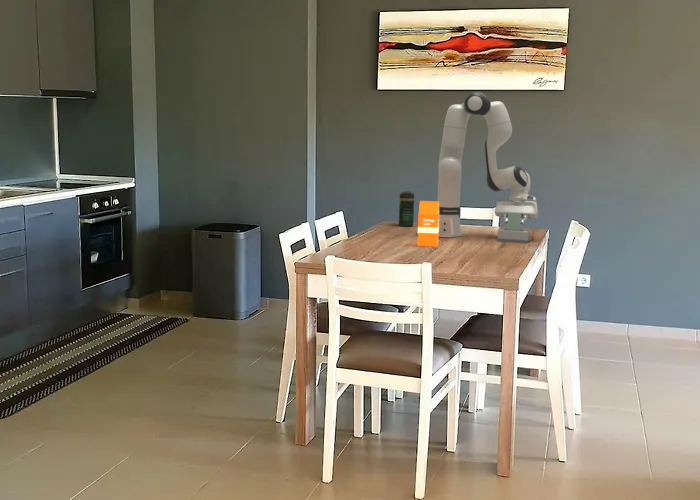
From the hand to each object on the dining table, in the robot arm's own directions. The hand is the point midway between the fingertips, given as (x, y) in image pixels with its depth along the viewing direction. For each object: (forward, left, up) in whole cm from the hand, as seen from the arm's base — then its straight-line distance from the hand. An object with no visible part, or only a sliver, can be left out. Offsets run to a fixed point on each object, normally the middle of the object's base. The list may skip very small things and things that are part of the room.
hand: (514, 223), depth 366 cm
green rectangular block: (0, +1, -6) cm, 6 cm away
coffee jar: (-47, +49, -9) cm, 68 cm away
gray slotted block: (0, +1, -8) cm, 8 cm away
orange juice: (-42, -14, -9) cm, 46 cm away
